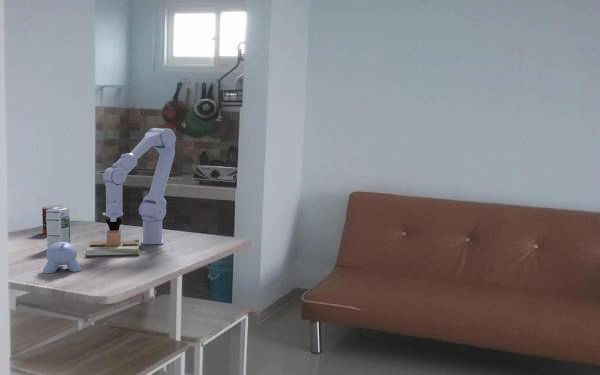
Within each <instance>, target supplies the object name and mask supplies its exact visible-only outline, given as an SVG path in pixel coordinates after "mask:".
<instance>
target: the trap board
mask: <svg viewBox="0 0 600 375" xmlns="http://www.w3.org/2000/svg"><path fill="white" fill-rule="evenodd" d="M139 252H140V240H139V239H121V244H120V245H113V246H107V239H105V240H90V241H89V244H88V246H87V248H86V258H98V257H99V258H103V257H104V258H107V257H139V254H140V253H139Z"/></svg>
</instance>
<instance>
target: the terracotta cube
mask: <svg viewBox="0 0 600 375" xmlns="http://www.w3.org/2000/svg"><path fill="white" fill-rule="evenodd" d="M106 240H107V246H113V245H120V244H121V240H122V232H121V230H120V229H119V230H113V231H110V230H107V232H106Z"/></svg>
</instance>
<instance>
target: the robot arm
mask: <svg viewBox="0 0 600 375" xmlns="http://www.w3.org/2000/svg"><path fill="white" fill-rule="evenodd" d="M176 140H177V136H176V134H175V132H174V130H173V129H171V128H156V127H152V128H150V129H149V130H148V131H147V132H146V133H144V137H143V138H142V139H141V140H140V142H139V143H138V144H137V145H136V146H135V147H134V148H133V149H132V150H131V151H130V152H129V153H128V152H126V153H122V154H121V155H120V158H118V160H116V162H115V163H113V164H112V166H111V167H107V168H106V169H105V170H104V172H103V175H102V176H101V178H102V181H103V182H104V186H105V212H102V216H104V217H108V218H106V219H105V222H106V224H107V226H108V228H109V230H108V231H113V230H120V227H121V224H122V222H123V217H122V216H123V215H124V213H123V204H124V203H123V183H125V182H126V180H127V175H128V174H129V173H130V172H131V171H132V170H133V169H134V168H135V167H136V166H137V165H138V160H139V159H140V158H141V157H142V156H144V154H146V153H147V151H148V150H150V149H151V148H152V147H153V148H155V149H156V150H157V153H158V154H159V156H158V160H157V162H156V163H157V164H156V167H155V171H154V173H153V178H152V180H151V184H150V189H149V192H148V194H146V195H145V196H144V197H143V199H142V202H141V203H140V205H139V207H138V213H139V215H140V217H141V219H142V238H141V245H163V244H164V239H163V220H164V218H165V217H166V214H167V200H166V198H165V192H166V188H167V185H168V180H169V177H170V173H171V169H172V165H173V163H174V162H173V161H174V159H175V155H176Z"/></svg>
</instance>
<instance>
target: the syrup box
mask: <svg viewBox="0 0 600 375" xmlns="http://www.w3.org/2000/svg"><path fill="white" fill-rule="evenodd" d="M46 220H47V234H46V242H47V243H46V244H47V245H46V246H47V249H48V248H49V247H50V246H51V245H52V244H54V243H57V242H67V243H71V224H70V223H71V222H70V221H71V220H70V208H69V207H63V208H62V207H60V208H53V209H48V210H46Z"/></svg>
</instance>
